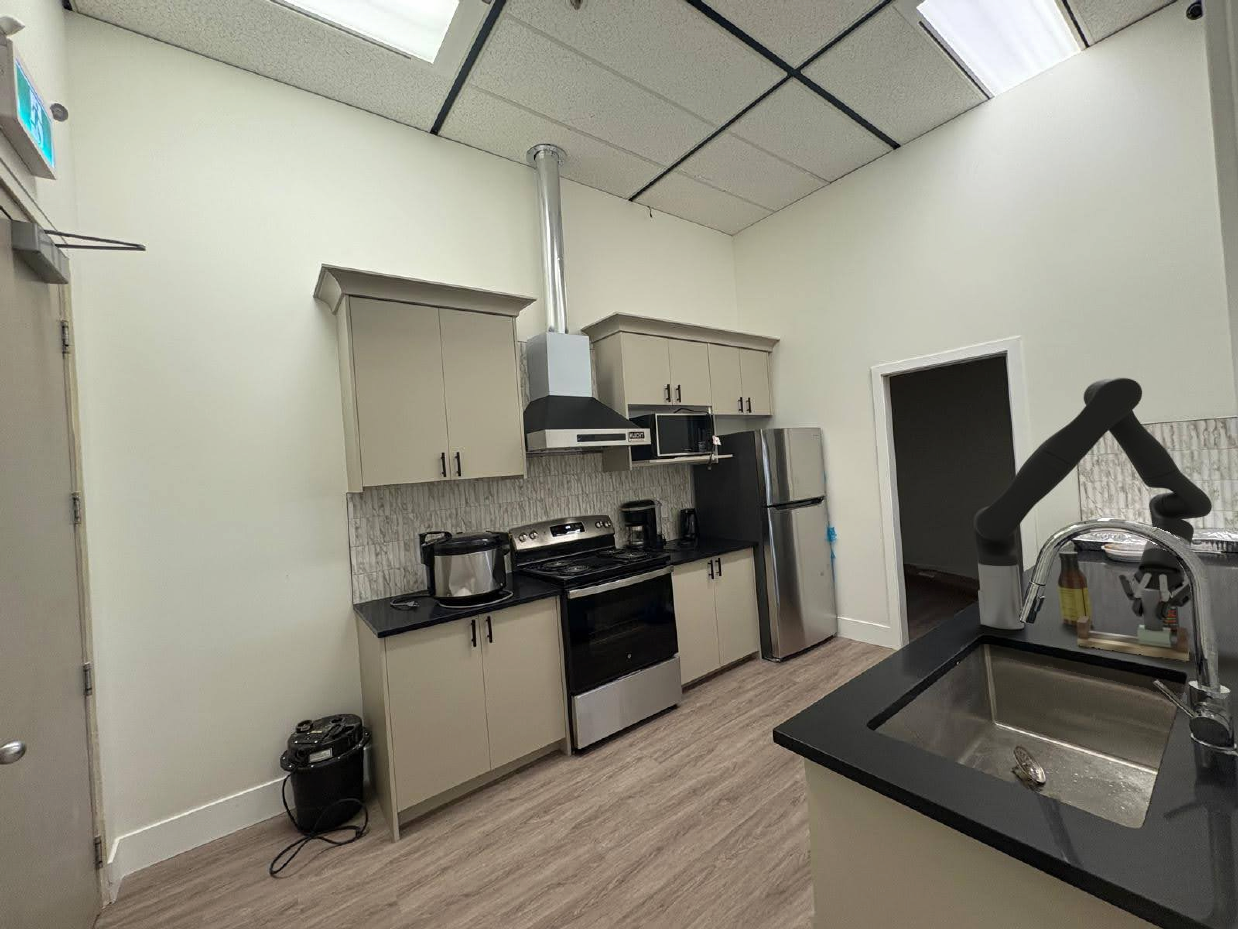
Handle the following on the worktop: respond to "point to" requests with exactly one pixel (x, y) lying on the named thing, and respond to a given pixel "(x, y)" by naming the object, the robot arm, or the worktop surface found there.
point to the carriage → (1152, 621)
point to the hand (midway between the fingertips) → (1148, 616)
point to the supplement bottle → (1171, 618)
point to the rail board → (1131, 642)
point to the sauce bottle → (1073, 589)
